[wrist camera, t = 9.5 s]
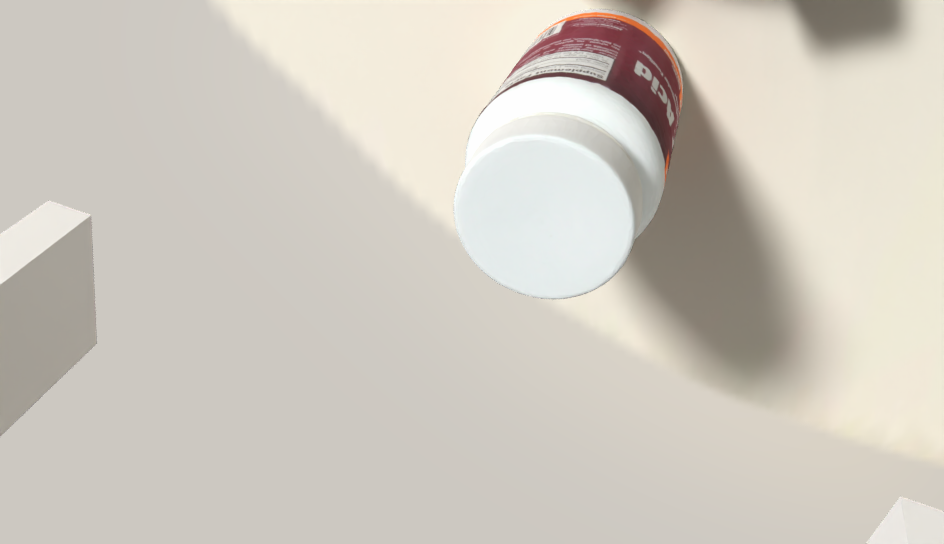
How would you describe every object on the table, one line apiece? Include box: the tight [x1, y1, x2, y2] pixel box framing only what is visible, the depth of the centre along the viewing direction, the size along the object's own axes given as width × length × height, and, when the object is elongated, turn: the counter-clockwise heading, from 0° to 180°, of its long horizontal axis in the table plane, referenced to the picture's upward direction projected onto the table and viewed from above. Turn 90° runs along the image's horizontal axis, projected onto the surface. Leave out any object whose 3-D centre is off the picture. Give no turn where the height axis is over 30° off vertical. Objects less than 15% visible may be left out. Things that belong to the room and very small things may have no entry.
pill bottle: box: [454, 9, 683, 299], centre depth 23 cm, size 5×5×8 cm
